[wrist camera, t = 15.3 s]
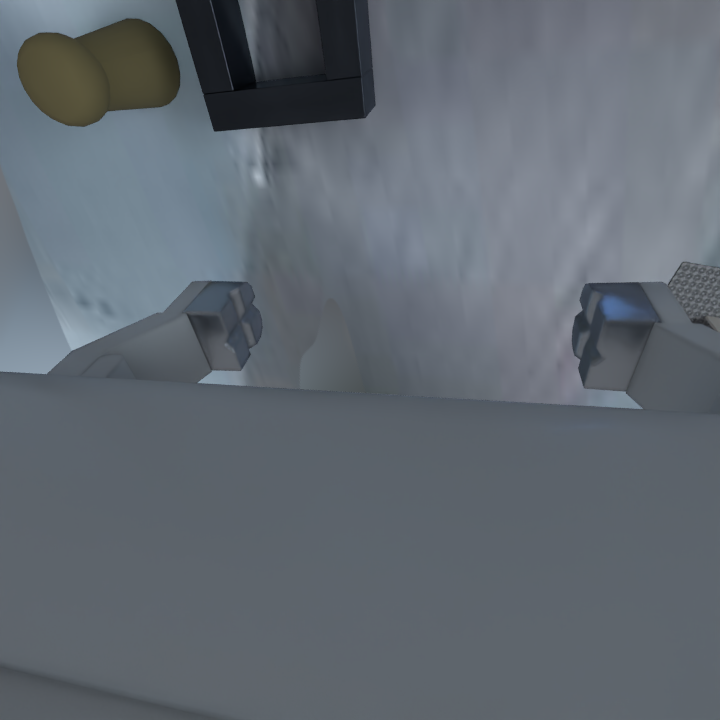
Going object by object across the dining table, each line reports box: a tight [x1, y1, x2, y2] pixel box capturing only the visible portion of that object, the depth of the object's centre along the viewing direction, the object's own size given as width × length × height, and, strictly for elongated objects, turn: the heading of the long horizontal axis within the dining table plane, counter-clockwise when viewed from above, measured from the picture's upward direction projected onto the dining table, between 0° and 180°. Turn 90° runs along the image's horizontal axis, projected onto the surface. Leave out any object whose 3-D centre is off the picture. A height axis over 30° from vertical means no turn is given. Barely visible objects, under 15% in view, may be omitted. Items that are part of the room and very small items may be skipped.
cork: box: [17, 18, 180, 127], centre depth 31 cm, size 6×6×11 cm
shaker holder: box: [176, 0, 375, 131], centre depth 30 cm, size 12×12×4 cm
